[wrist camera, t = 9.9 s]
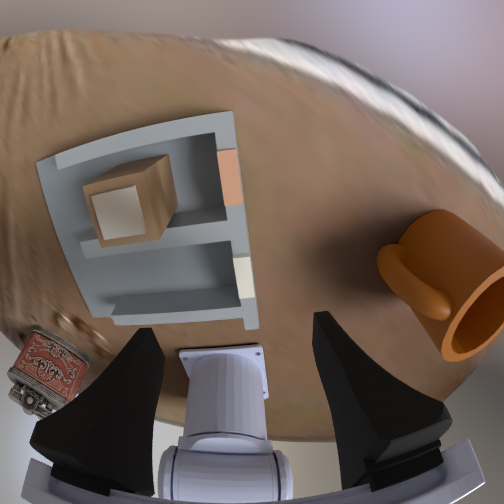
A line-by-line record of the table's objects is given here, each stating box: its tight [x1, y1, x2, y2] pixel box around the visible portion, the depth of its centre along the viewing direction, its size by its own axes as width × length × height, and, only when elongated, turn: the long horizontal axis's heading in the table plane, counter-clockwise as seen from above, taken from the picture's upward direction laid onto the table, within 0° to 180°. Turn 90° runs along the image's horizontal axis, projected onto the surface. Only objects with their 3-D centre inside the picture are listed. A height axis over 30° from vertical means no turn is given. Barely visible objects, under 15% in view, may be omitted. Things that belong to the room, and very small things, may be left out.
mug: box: [377, 210, 504, 362], centre depth 17 cm, size 9×12×9 cm
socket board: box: [36, 111, 259, 330], centre depth 18 cm, size 14×15×4 cm
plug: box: [82, 154, 179, 248], centre depth 15 cm, size 4×4×5 cm
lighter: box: [7, 325, 91, 420], centre depth 21 cm, size 8×3×10 cm, turn 55°
